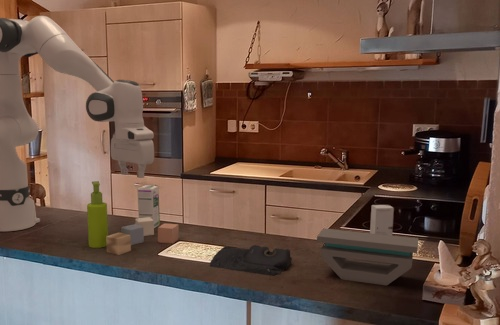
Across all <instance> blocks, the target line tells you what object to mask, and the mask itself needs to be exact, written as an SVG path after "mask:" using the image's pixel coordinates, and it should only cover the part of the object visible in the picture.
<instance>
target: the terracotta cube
mask: <svg viewBox="0 0 500 325" xmlns="http://www.w3.org/2000/svg"><path fill="white" fill-rule="evenodd" d="M179 227H180V226H179V224H178V223H175V224H174V223H165V222H164V223H162V224H161V225H158V226H157V243H162V244H163V243H164V244H175V242H177V241H178V240H180V237H179V234H180V233H179Z"/></svg>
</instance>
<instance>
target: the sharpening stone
mask: <svg viewBox="0 0 500 325" xmlns="http://www.w3.org/2000/svg"><path fill="white" fill-rule="evenodd" d="M316 242H317V243H324V244H323V245H322V246H321V248H320V258H321V259H322V260H323V261H324V262H325V263H326V264H327V266H329V268H331V270H332V271H333V272H334V273H335V274H336V275H337V276H338V277H339V278H340V279H341V280H344V281H352V282H357V283H358V282H360V283H366V284H374V285H381V286H388V285H390V284H391V283H392V282H394V281H395V280H397V279H398V278H400V277H401V276H403V275H404V274H405V273H407V272H408V271H410V270H411V269H412V265H413V259H414V254H418V248H419V238H418V237H411V236H410V237H408V236H401V235H400V236H399V235H393V234H392V235H382V234H372V233H370V232H362V231H361V232H360V231H351V230H343V229H342V230H341V229H334V228H333V229H332V228H322V229H321V231H320V232H318V234H317V236H316Z"/></svg>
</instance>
